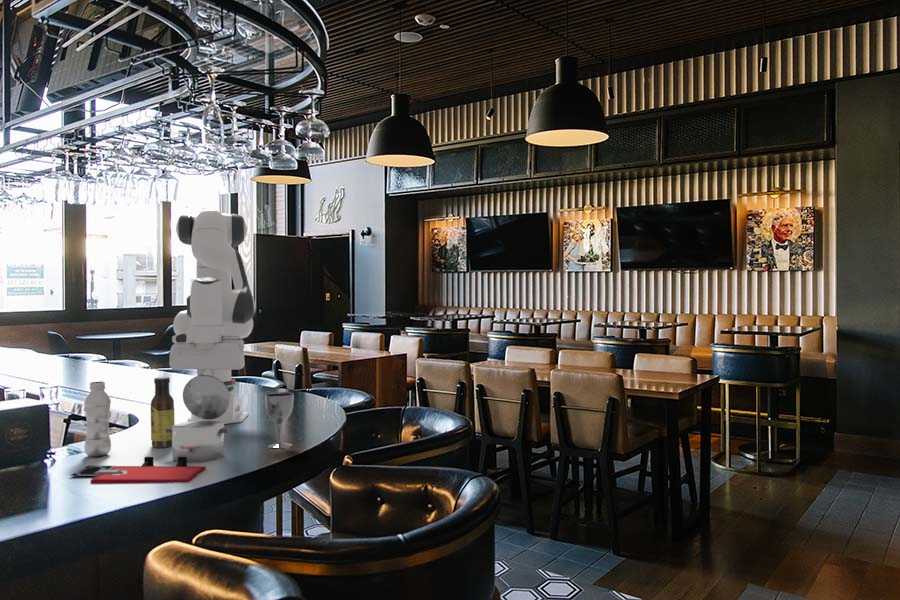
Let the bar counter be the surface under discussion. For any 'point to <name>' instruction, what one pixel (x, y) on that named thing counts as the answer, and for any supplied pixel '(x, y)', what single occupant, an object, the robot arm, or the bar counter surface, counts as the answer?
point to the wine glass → (279, 412)
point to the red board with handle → (142, 473)
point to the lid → (206, 397)
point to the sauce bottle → (162, 414)
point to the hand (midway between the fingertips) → (207, 385)
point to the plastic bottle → (97, 420)
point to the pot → (198, 440)
